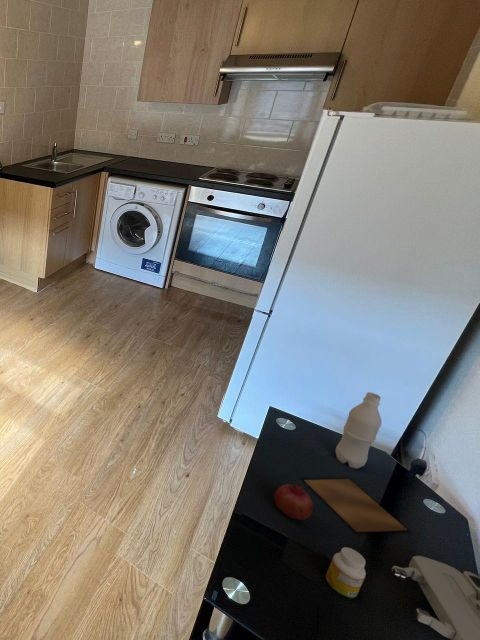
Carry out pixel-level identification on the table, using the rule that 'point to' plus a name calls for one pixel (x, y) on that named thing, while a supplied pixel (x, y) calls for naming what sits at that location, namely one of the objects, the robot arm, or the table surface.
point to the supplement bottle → (346, 572)
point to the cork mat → (354, 506)
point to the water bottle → (360, 432)
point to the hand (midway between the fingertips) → (404, 591)
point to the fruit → (294, 501)
